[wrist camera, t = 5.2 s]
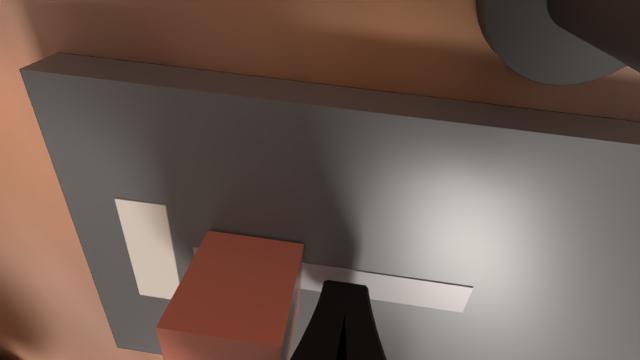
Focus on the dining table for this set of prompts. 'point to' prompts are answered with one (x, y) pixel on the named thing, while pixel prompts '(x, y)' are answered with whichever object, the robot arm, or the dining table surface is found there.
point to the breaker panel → (354, 204)
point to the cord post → (563, 37)
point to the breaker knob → (235, 301)
